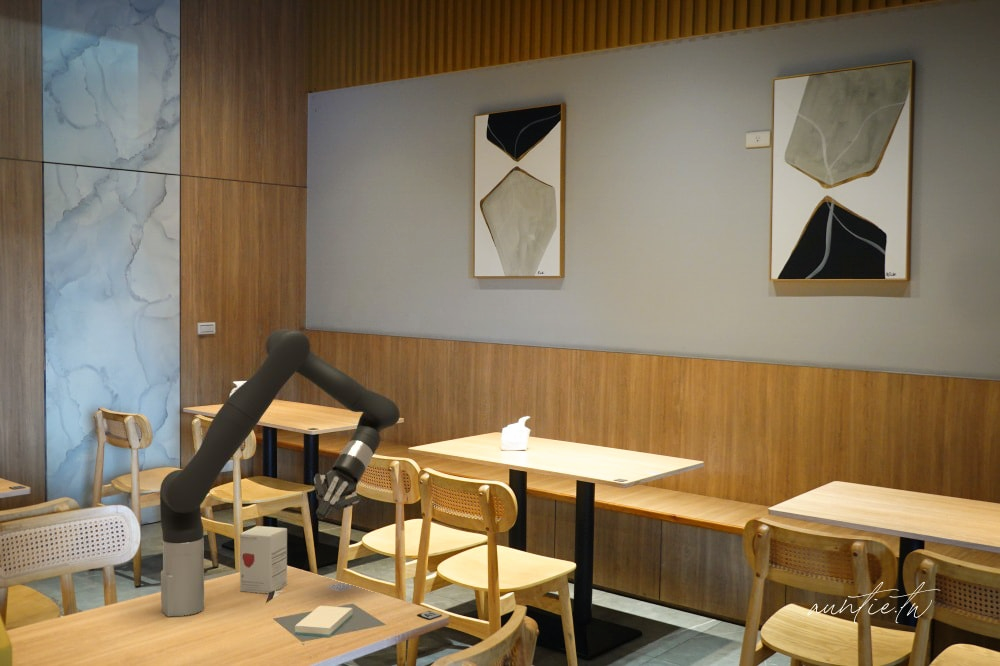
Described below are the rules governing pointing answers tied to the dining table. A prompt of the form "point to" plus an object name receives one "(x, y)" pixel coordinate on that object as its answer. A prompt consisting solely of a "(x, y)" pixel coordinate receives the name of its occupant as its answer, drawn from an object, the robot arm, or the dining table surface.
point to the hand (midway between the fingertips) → (319, 516)
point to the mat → (355, 623)
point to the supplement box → (263, 559)
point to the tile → (323, 621)
